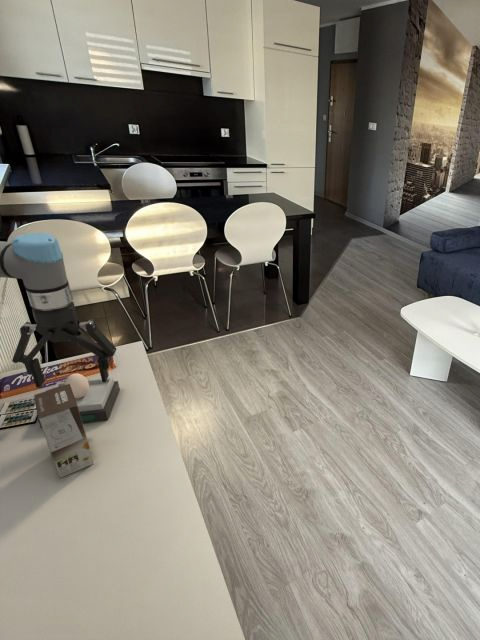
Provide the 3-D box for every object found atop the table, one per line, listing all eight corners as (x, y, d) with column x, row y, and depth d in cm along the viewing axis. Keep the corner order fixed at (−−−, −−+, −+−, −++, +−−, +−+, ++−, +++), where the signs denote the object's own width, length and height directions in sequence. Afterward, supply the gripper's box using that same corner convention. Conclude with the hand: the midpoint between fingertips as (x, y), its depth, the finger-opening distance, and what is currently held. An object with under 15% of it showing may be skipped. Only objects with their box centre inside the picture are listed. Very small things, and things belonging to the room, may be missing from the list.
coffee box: (95, 463, 86) (78, 406, 79) (59, 479, 82) (38, 419, 75) (86, 438, 92) (69, 382, 85) (52, 451, 88) (32, 394, 81)
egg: (63, 401, 97) (56, 379, 94) (77, 389, 101) (71, 367, 98) (82, 403, 96) (76, 381, 94) (95, 391, 101) (90, 369, 98)
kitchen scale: (40, 429, 93) (34, 413, 91) (59, 395, 103) (54, 381, 101) (107, 421, 97) (103, 405, 95) (120, 389, 107) (116, 375, 105)
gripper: (-27, 314, 81) (4, 396, 90) (112, 309, 88) (127, 386, 97) (-8, 298, 87) (19, 376, 96) (120, 295, 94) (134, 368, 103)
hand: (73, 381), depth 97 cm, fingers open, 13 cm apart
